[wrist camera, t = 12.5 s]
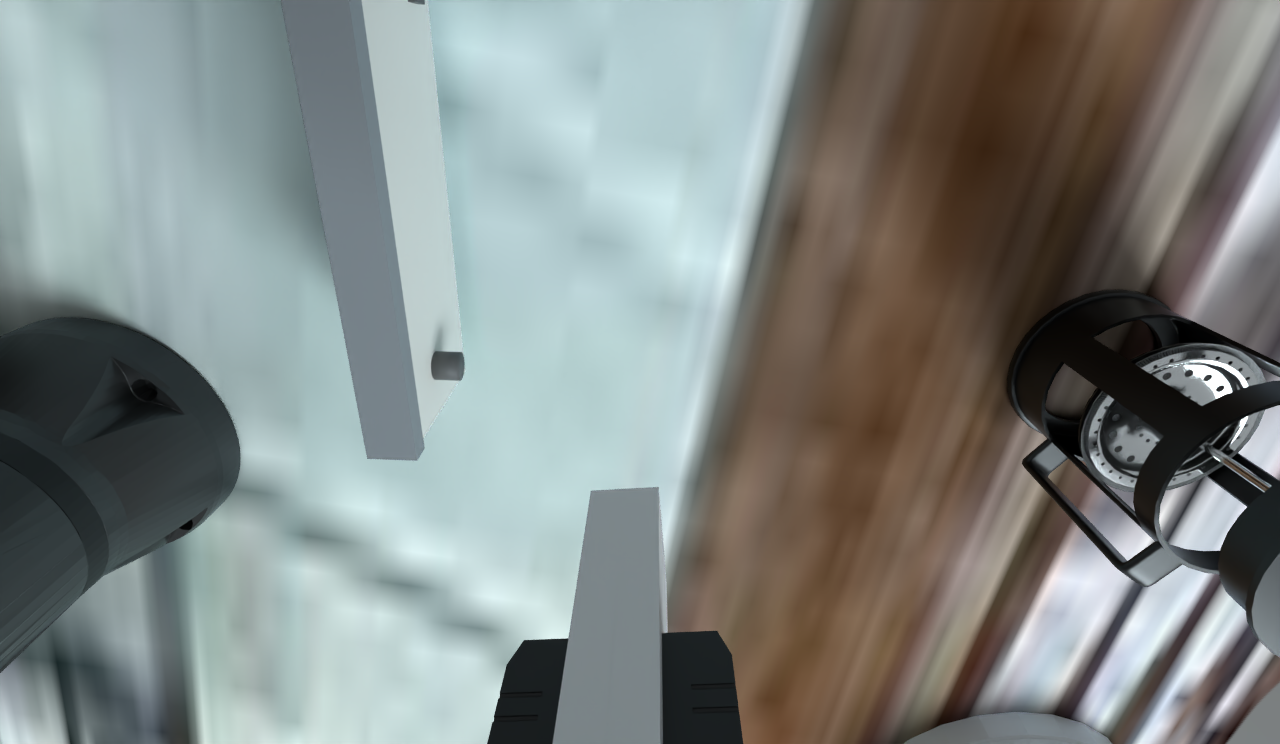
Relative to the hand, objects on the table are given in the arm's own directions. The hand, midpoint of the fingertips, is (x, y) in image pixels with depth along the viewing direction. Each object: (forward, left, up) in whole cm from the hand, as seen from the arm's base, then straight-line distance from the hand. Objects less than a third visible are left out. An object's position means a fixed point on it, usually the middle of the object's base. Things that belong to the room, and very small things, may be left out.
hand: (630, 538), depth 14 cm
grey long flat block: (-11, +5, -21) cm, 24 cm away
